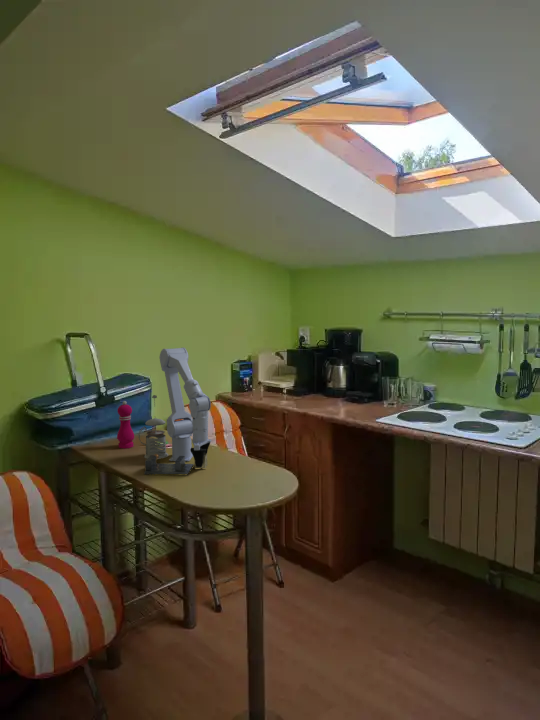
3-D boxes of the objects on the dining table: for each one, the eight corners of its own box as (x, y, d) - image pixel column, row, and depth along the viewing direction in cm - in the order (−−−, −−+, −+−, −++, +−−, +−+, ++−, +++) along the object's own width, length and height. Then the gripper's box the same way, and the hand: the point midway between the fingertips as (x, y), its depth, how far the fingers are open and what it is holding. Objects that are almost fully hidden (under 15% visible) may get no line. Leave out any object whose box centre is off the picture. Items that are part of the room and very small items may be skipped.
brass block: (196, 466, 202) (196, 453, 202) (207, 466, 202) (207, 453, 202) (194, 469, 198) (194, 456, 198) (205, 469, 198) (205, 456, 198)
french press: (170, 457, 213) (169, 396, 210) (141, 461, 209) (139, 398, 206) (166, 451, 222) (164, 392, 220) (137, 454, 218) (135, 394, 215)
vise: (152, 465, 203) (151, 454, 202) (193, 466, 202) (193, 454, 201) (144, 474, 193) (143, 462, 192) (187, 475, 192) (187, 462, 191)
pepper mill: (116, 445, 231) (114, 400, 229) (133, 443, 234) (131, 399, 232) (118, 449, 225) (117, 403, 223) (136, 447, 228) (134, 401, 226)
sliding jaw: (154, 460, 206) (154, 451, 205) (159, 460, 205) (159, 451, 205) (145, 470, 194) (145, 460, 194) (150, 470, 194) (150, 460, 194)
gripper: (207, 433, 191) (208, 470, 193) (214, 424, 206) (214, 458, 207) (187, 433, 192) (188, 469, 193) (196, 423, 206) (196, 458, 208)
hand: (201, 463), depth 200 cm, fingers open, 6 cm apart
